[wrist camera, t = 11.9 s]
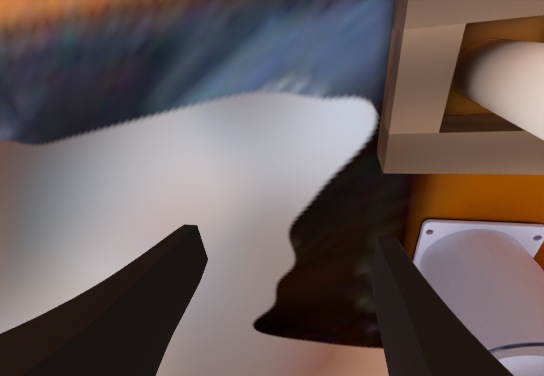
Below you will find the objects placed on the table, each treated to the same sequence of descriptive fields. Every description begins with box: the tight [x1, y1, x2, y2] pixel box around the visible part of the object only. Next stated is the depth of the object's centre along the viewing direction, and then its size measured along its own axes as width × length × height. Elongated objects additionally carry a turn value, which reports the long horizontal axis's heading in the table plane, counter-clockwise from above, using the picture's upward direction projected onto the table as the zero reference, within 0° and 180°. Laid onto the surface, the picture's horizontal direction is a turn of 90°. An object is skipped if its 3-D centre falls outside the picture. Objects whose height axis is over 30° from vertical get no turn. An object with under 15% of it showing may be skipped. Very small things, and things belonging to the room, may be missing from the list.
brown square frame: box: [377, 0, 544, 175], centre depth 13 cm, size 10×10×3 cm
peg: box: [451, 39, 544, 140], centre depth 11 cm, size 3×3×9 cm
